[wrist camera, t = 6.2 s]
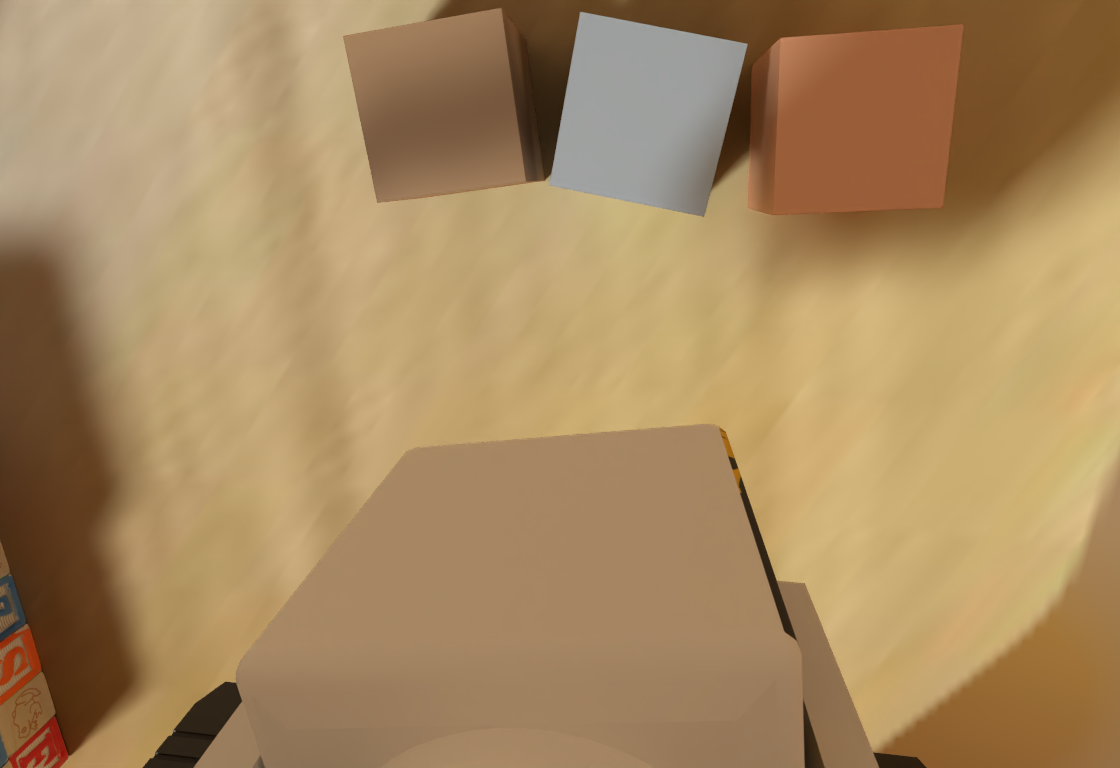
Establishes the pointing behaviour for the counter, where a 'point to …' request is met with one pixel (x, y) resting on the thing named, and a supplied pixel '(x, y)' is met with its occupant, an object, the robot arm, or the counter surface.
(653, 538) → the medicine bottle
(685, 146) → the slate blue cube
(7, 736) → the stack of blocks
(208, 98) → the counter surface
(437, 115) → the walnut cube
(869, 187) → the terracotta cube
